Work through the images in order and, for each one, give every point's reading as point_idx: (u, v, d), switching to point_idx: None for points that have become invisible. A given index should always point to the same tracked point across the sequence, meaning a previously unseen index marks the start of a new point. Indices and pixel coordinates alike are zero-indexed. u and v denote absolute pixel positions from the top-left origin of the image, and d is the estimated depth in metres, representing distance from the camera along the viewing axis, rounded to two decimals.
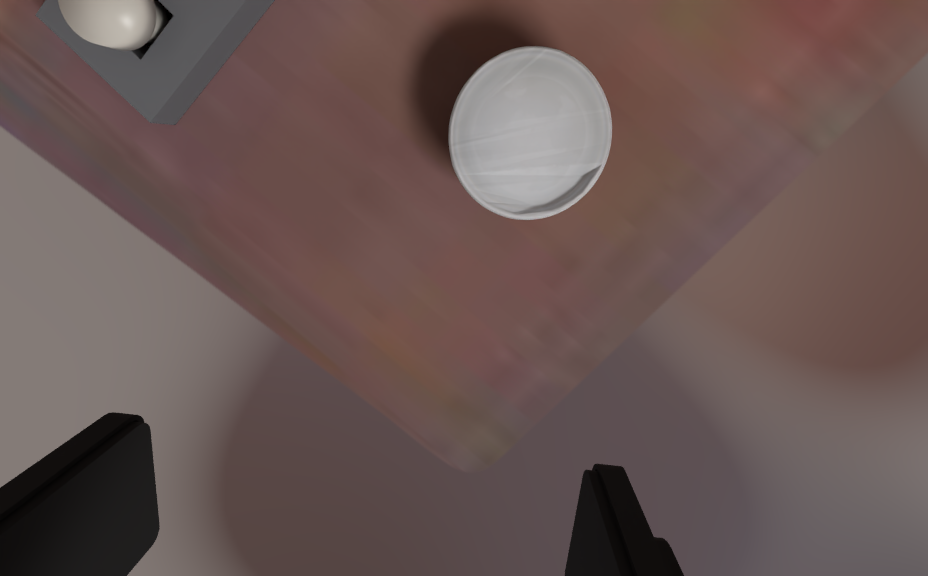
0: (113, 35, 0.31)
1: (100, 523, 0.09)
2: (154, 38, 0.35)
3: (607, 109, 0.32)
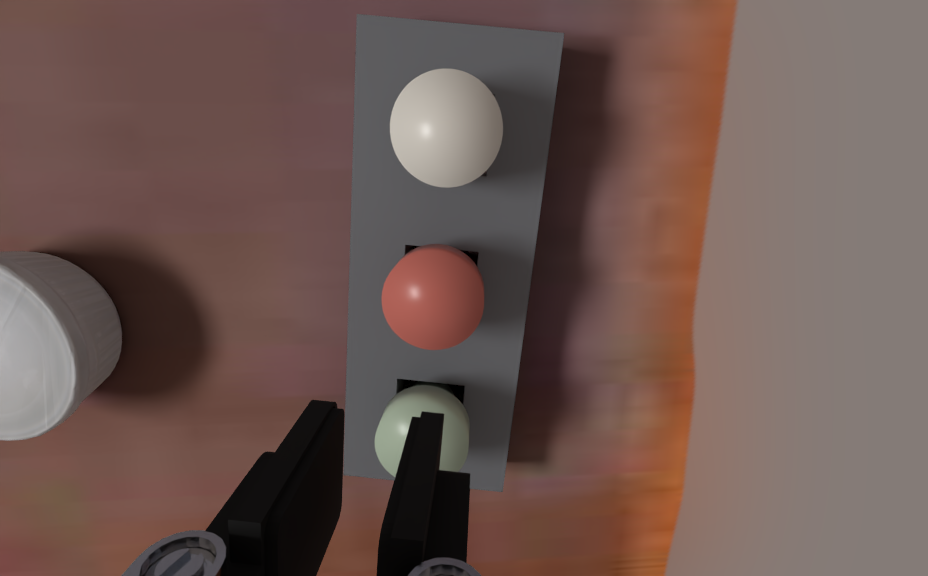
0: (404, 105, 0.21)
1: (322, 496, 0.10)
2: None
3: None
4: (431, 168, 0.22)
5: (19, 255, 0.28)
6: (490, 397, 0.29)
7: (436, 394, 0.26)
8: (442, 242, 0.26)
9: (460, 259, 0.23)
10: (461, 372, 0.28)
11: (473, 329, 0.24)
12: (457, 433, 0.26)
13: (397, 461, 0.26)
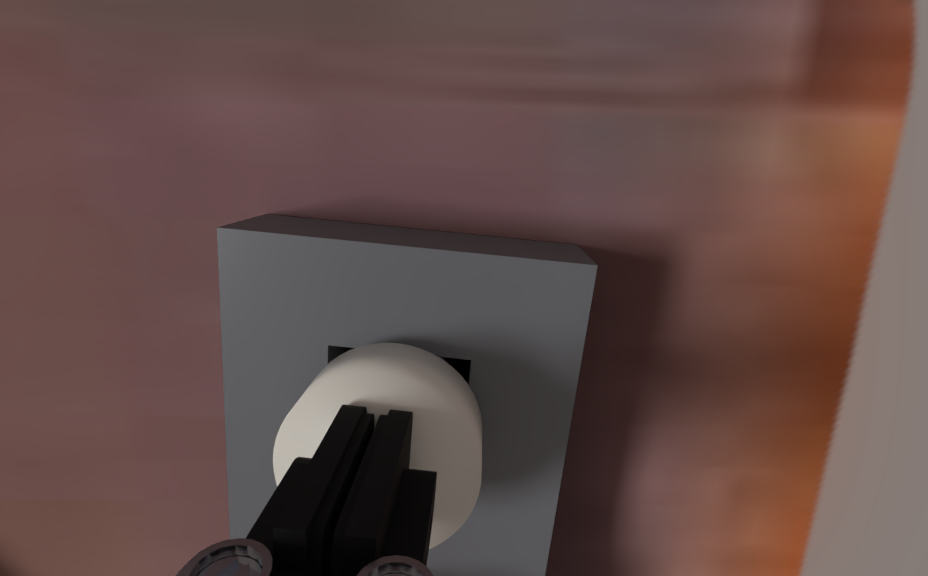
0: (298, 431, 0.11)
1: None
2: None
3: None
4: None
5: None
6: None
7: None
8: None
9: None
10: None
11: None
12: None
13: None
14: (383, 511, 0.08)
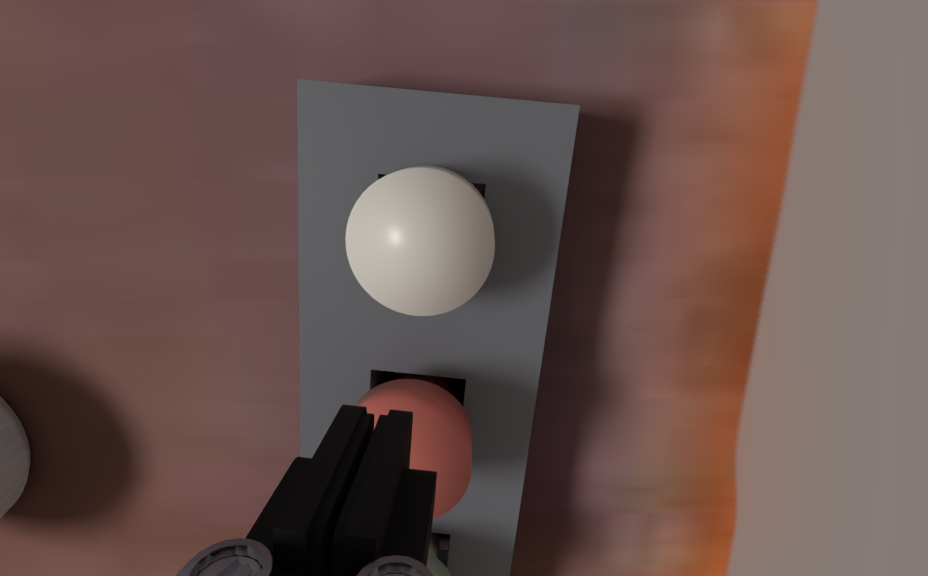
0: (364, 214, 0.16)
1: None
2: None
3: None
4: (401, 292, 0.17)
5: None
6: (482, 547, 0.23)
7: None
8: (418, 367, 0.20)
9: (439, 414, 0.17)
10: (445, 518, 0.22)
11: (457, 500, 0.18)
12: None
13: None
14: (383, 511, 0.08)
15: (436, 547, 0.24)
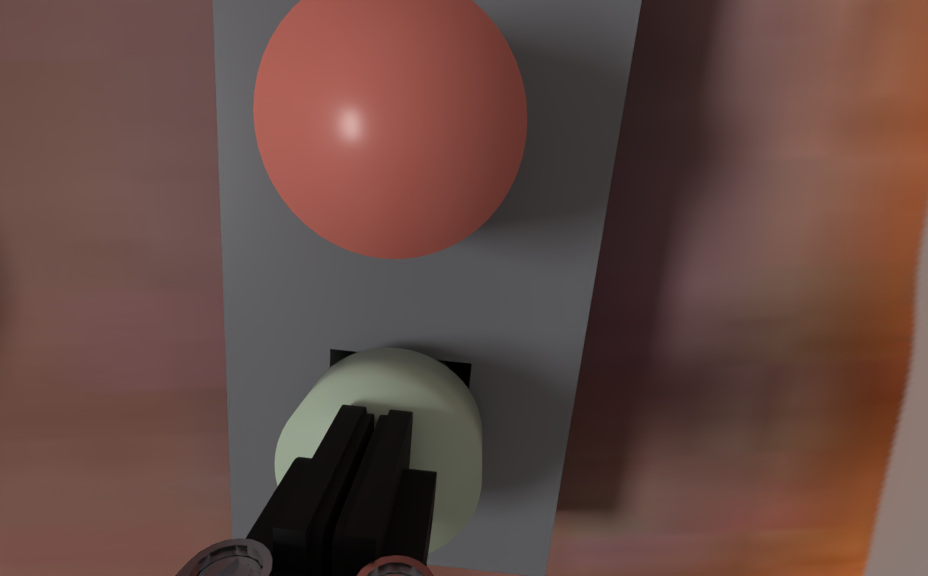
0: None
1: None
2: None
3: None
4: None
5: None
6: (524, 387, 0.14)
7: (412, 364, 0.12)
8: None
9: None
10: (463, 334, 0.14)
11: (497, 201, 0.09)
12: (457, 449, 0.11)
13: None
14: (383, 511, 0.08)
15: None
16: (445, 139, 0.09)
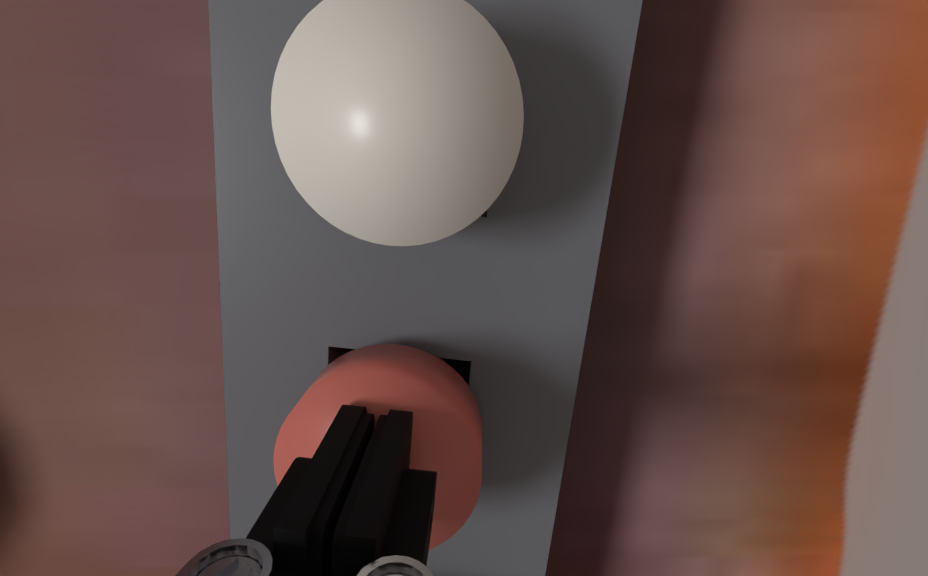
0: (301, 65, 0.09)
1: None
2: None
3: None
4: (366, 205, 0.10)
5: None
6: None
7: None
8: (400, 343, 0.14)
9: (432, 390, 0.11)
10: (439, 568, 0.15)
11: (460, 523, 0.12)
12: None
13: None
14: (383, 511, 0.08)
15: None
16: None
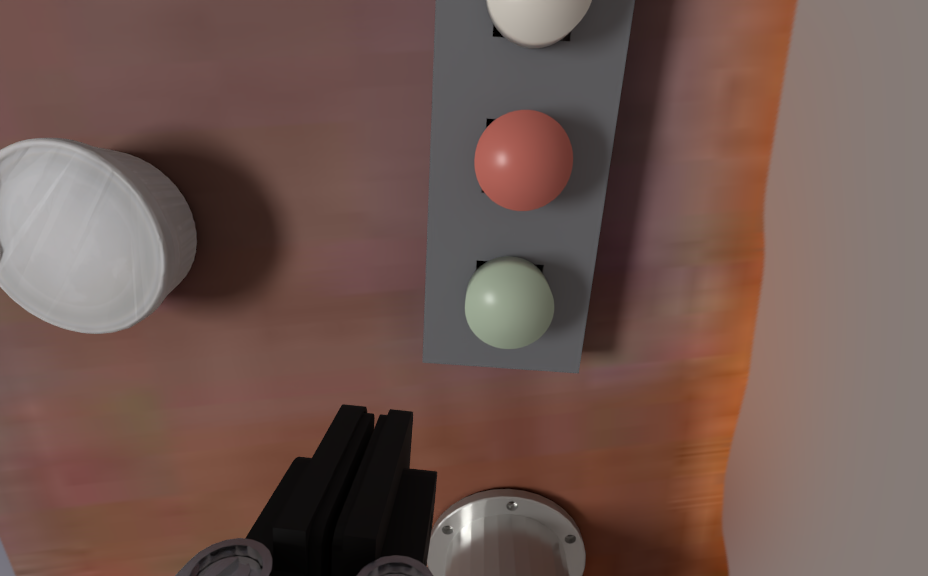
0: None
1: None
2: None
3: (45, 320, 0.29)
4: (525, 22, 0.23)
5: (98, 148, 0.28)
6: (568, 275, 0.29)
7: (521, 261, 0.28)
8: None
9: (550, 117, 0.24)
10: (540, 250, 0.29)
11: (562, 188, 0.25)
12: (544, 295, 0.27)
13: (486, 325, 0.28)
14: (383, 511, 0.08)
15: None
16: (543, 166, 0.25)
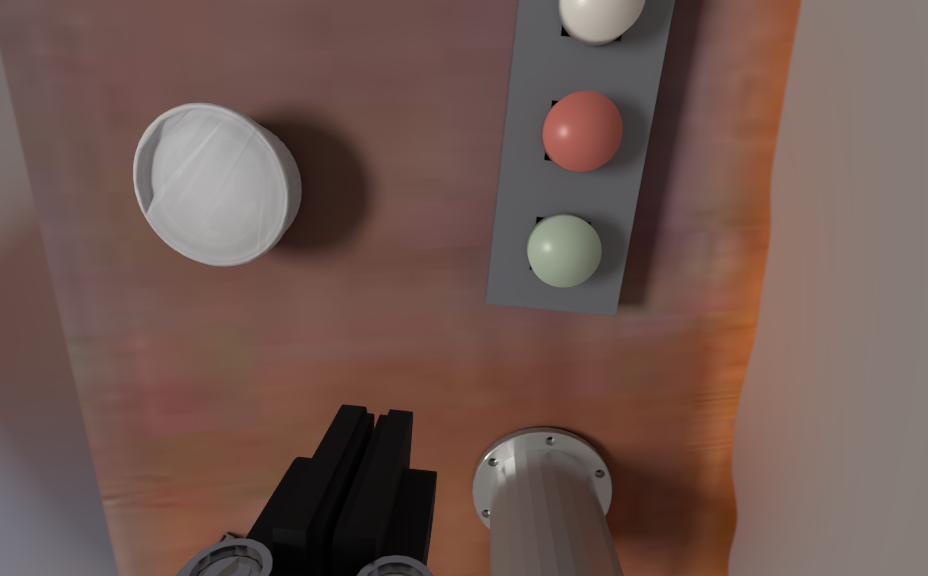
0: None
1: None
2: None
3: (182, 252, 0.35)
4: (591, 24, 0.30)
5: None
6: (611, 231, 0.36)
7: (574, 216, 0.34)
8: None
9: None
10: (588, 209, 0.35)
11: (612, 154, 0.32)
12: (593, 242, 0.34)
13: (545, 266, 0.34)
14: (383, 511, 0.08)
15: None
16: (599, 136, 0.32)
